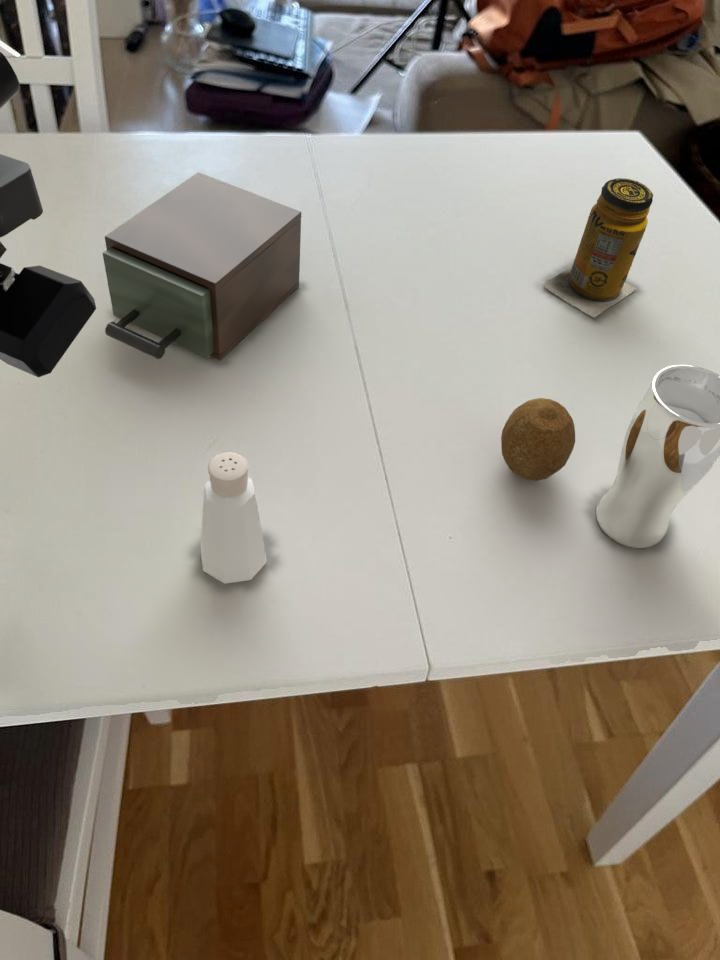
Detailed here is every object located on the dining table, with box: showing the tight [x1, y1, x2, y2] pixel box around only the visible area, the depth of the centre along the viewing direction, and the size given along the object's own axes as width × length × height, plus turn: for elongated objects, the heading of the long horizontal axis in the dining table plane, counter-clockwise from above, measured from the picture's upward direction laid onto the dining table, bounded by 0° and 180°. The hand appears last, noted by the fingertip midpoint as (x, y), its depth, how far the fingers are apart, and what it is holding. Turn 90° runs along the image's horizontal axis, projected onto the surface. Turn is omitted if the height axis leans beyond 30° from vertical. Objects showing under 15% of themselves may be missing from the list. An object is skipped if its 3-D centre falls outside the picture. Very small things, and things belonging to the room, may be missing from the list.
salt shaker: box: [199, 451, 268, 584], centre depth 62 cm, size 5×5×11 cm
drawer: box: [102, 248, 214, 360], centre depth 81 cm, size 18×11×7 cm, turn 151°
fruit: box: [500, 397, 576, 481], centre depth 72 cm, size 6×6×8 cm
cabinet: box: [104, 171, 302, 362], centre depth 84 cm, size 15×13×9 cm
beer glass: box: [595, 364, 720, 549], centre depth 66 cm, size 7×7×15 cm
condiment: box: [541, 177, 654, 319], centre depth 89 cm, size 7×8×12 cm
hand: (22, 355), depth 61 cm, fingers closed
